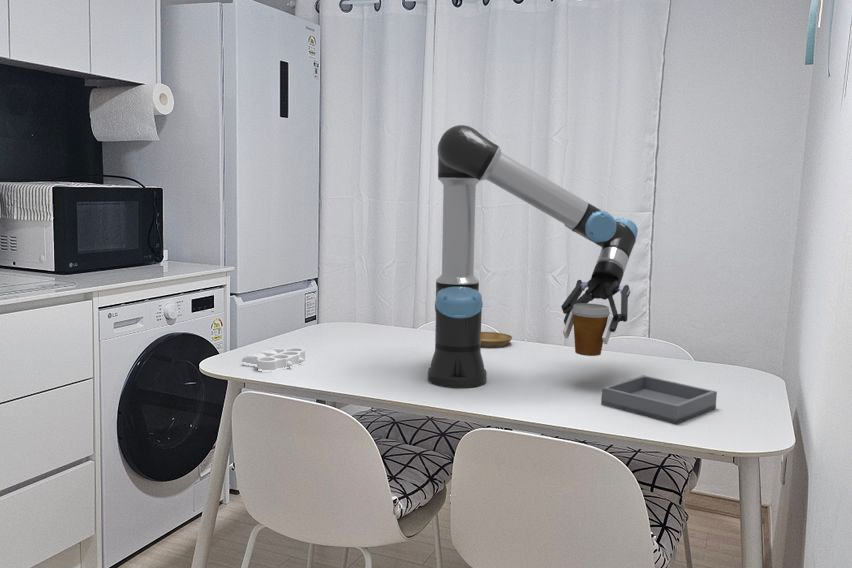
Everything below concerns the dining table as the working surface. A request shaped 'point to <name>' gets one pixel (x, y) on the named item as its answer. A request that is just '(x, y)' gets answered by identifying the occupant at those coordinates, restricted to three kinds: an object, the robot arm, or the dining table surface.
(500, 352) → the dining table surface
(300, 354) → the white holed plate
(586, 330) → the disposable coffee cup
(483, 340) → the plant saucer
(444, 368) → the robot arm
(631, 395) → the grey tray
